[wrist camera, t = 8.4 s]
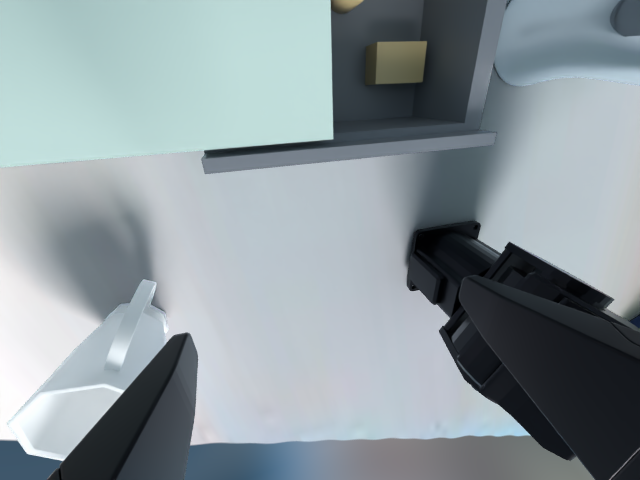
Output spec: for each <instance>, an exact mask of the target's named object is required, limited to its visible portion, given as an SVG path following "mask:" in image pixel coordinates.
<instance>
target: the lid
mask: <svg viewBox="0 0 640 480" xmlns="http://www.w3.org/2000/svg"><path fill="white" fill-rule="evenodd" d="M332 139H333V100H332V49H331V0H0V168H1V167H13V166H25V165H37V164H49V163H60V162H72V161H84V160H96V159H108V158H119V157H131V156H143V155H155V154H167V153H178V152H190V151H202V150H214V149H226V148H237V147H249V146H261V145H273V144H285V143H296V142H308V141H320V140H332Z"/></svg>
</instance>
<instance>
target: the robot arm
mask: <svg viewBox="0 0 640 480" xmlns="http://www.w3.org/2000/svg"><path fill="white" fill-rule="evenodd" d="M474 226H475V227H474ZM480 227H481V225H480V223H478V222H477V221H470V222H463V223H457V224H451V225H445V226H438V227H432V228H426V229H420V230H417V231H416V232H415V233H414V238H413V245H412V253H411V255H410V263H409V270H408V283H407V287H408V288H409V290H410V291H416V290H420V291H421V292H422V293H423V294H424V295H425V296H426V298H427V299H428V300H429V301H430V302H431V303H432V304H434V305H436V304H437V305H438V306H439V307H440V308H441V309H442V310H443V311H444V312H445V313H446V314H447V315H448V316H449V317H450V319H449V321H448V322H447V323H446V324H445V326H442V328H441V329H440V330H439V333H440V335H441V336H442V338H443V340H444V342H445V344H446V346H447V348H448V350H449V352H450V353H451V355H452V357H453V359H454V361H455V363H456V365H457V367H458V369H459V370H460V372H461V374H462V376H463V378H464V379H465V380H466V381H467V382H468V383H469V384H471V386H472V387H473V388H474V389H475V390H476V391H478V392H479V393H481V394H482V395H483V396H485V397H486V398H488V399H489V400H491V401H492V402H494V403H496V404H498V405H500V406H501V407H502V408H503V409H504V410H505V411H507V412H508V413H509V414H510V415H511V416H512V417H513V418H514V419H515V420H516V421H517V422H518V423H519V424H520V425H521V426H522V427H523V428H524V429H525V430H526V431H527V432H528V433H529V434H530V435H531V436H532V437H533V438H534V439H535V440H536V441H537V442H538V443H539V444H540V445H541V446H542V447H543V448H545V449H547V450H548V451H550V452H552V453H554V454H556V455H558V456H560V457H562V458H563V459H566V460H570V461H571V460H572V459H574V458H575V457H576V456H577V457H578V459H579V460H580V461H581V462H582V464H583V465H584V466H585V468H586V469H587V470H588V471H589V473H590V474H591V475H592V476H593V478H594V479H595V480H640V330H639V329H638V327H636V326H635V325H634V324H632V323H630V322H629V321H627V320H625V319H623V318H622V317H620V316H618V315H616V314H615V313H613V312H611V311H610V310H608V309H606V308H607V306H608V305H609V304H610V303H612V302H613V301H614V300H615V299H613V298H611V297H610V296H608V295H606V294H604V293H603V292H601V291H599V290H598V289H596V288H594V287H592V286H591V285H589V284H587V283H585V282H584V281H582V280H580V279H579V278H577V277H575V276H573V275H571V274H570V273H568V272H566V271H564V270H562V269H560V268H558V267H557V266H555V265H553V264H551V263H549V262H547V261H546V260H544V259H542V258H540V257H538V256H536V255H534V254H532V253H530V252H528V251H526V250H524V249H522V248H520V247H518V246H517V245H515V244H513V243H511V242H509V243H508V244H507V245H506V246H505V250H504V251H503V252H502V254H501V253H499V252H498V251H496V250H494V249H493V248H491V247H489V246H488V245H486V244H484V243H483V242H481V241H480V240H478V239H477V238H478V235H479V231H480ZM420 234H421V236H420V237H419V235H420ZM197 368H198V354H197V350H196V348H195V345H194V342H193V340H192V337H191V335H190V334H189V333H182V334H177V335H174V336H173V337H171V339H170V340H169V341H168V342H167V343H166V344H165V345H164V347H163V348H162V349H161V350H160V351H159V352H158V353H157V355H156V356H155V357H154V358H153V359H152V360H151V361H150V363H149V364H148V365H147V366H146V367H145V368H144V369H143V370H142V372H141V373H140V374H139V375H138V376H137V377H136V378H135V380H134V381H133V382H132V383H131V384H130V385H129V386H128V388H127V389H126V390H125V391H124V392H123V393H122V394H121V396H120V397H119V398H118V399H117V400H116V401H115V402H114V404H113V405H112V406H111V407H110V408H109V409H108V410H107V412H106V413H105V414H104V415H103V416H102V417H101V418H100V420H99V421H98V422H97V423H96V424H95V425H94V426H93V428H92V429H91V430H90V431H89V432H88V433H87V434H86V435H85V437H84V438H83V439H82V440H81V441H80V442H79V443H78V445H77V446H76V447H75V448H74V449H73V450H72V451H71V453H70V454H69V455H68V456H67V457H66V458H65V459H64V461H63V462H62V463H61V464H60V468H58V469H56V470H55V471H54V472H53V473H52V474H51V475H50V476H49V478H48V479H47V480H184V478H185V472H186V465H187V460H188V453H189V448H190V442H191V436H192V430H193V424H194V416H195V405H196V387H197Z"/></svg>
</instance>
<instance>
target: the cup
mask: <svg viewBox="0 0 640 480" xmlns="http://www.w3.org/2000/svg"><path fill="white" fill-rule="evenodd" d="M156 284H157V282H154V281H150V280H145V279H143V280H142V282H141V283H140V284H139V286H138V288H137V290H136V292H135V294H134V296H133V298H132V300H131V302H130V303H123V304H120V305H119V306H118V307H117V308H116V309H114V310H113V311H112V312H111V313H110V314H109V315H108V316H107V317H106V318H105V320H104V322H103V323H102V324H101V325H100V326H99V327H98V328H97V329H96V330H94V331H93V332H92V333H91V334H90V335H89V336H88V337H87V338H86V339H85V340H84V341H83V342H82V343H81V344H80V345H79V346H78V347H76V348H75V349H74V350H73V351H72V353H71V354H70V355H69V356H68V357H67V358H66V359H65V360H64V361H63V363H62V364H61V365H60V366H59V367H58V368H57V369H56V370H55V371H54V373H53V374H52V375H51V376H50V377H49V378H48V379H47V380H46V381H45V382H44V384H43V385H42V386H41V387H40V388H39V389H38V390H37V391H36V392H35V393H34V394H33V395H32V396H31V397H30V398H29V400H28V401H27V402H26V403H25V404H24V405H23V406H22V407H21V408H20V409H19V411H18V412H17V413H16V414H15V415H14V416H13V417H12V418H11V419H10V420H9V422H8V423H7V425H8V427H9V428H10V429H11V431H12V432H13V434H14V435H15V437H16V438H17V440H18V441H19V443H20V444H21V445H22V447H23V448H24V450H25V451H26V453H27V454H31V455H37V456H41V457H46V458H51V459H56V460H61V461H64V459H65V458H66V457H67V456H68V455H69V454H70V453H71V451H72V450H73V449H74V448H75V447H76V446H77V445H78V443H79V442H80V441H81V440H82V439H83V438H84V437H85V435H86V434H87V433H88V432H89V431H90V430H91V429H92V428H93V426H94V425H95V424H96V423H97V422H98V421H99V420H100V418H101V417H102V416H103V415H104V414H105V413H106V412H107V410H108V409H109V408H110V407H111V406H112V405H113V404H114V402H115V401H116V400H117V399H118V398H119V397H120V396H121V394H122V393H123V392H124V391H125V390H126V389H127V388H128V386H129V385H130V384H131V383H132V382H133V381H134V380H135V378H136V377H137V376H138V375H139V374H140V373H141V372H142V370H143V369H144V368H145V367H146V366H147V365H148V364H149V363H150V361H151V360H152V359H153V358H154V357H155V356H156V355H157V353H158V352H159V351H160V350H161V349H162V348H163V347H164V345H165V344H166V335H165V333H166V332H167V331H168V323H167V318H166V313H165V312H164V311H162V310H160V309H158V308H156V307H154V306H153V305H151V302H152V299H153V296H154V293H155V289H156Z"/></svg>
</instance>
